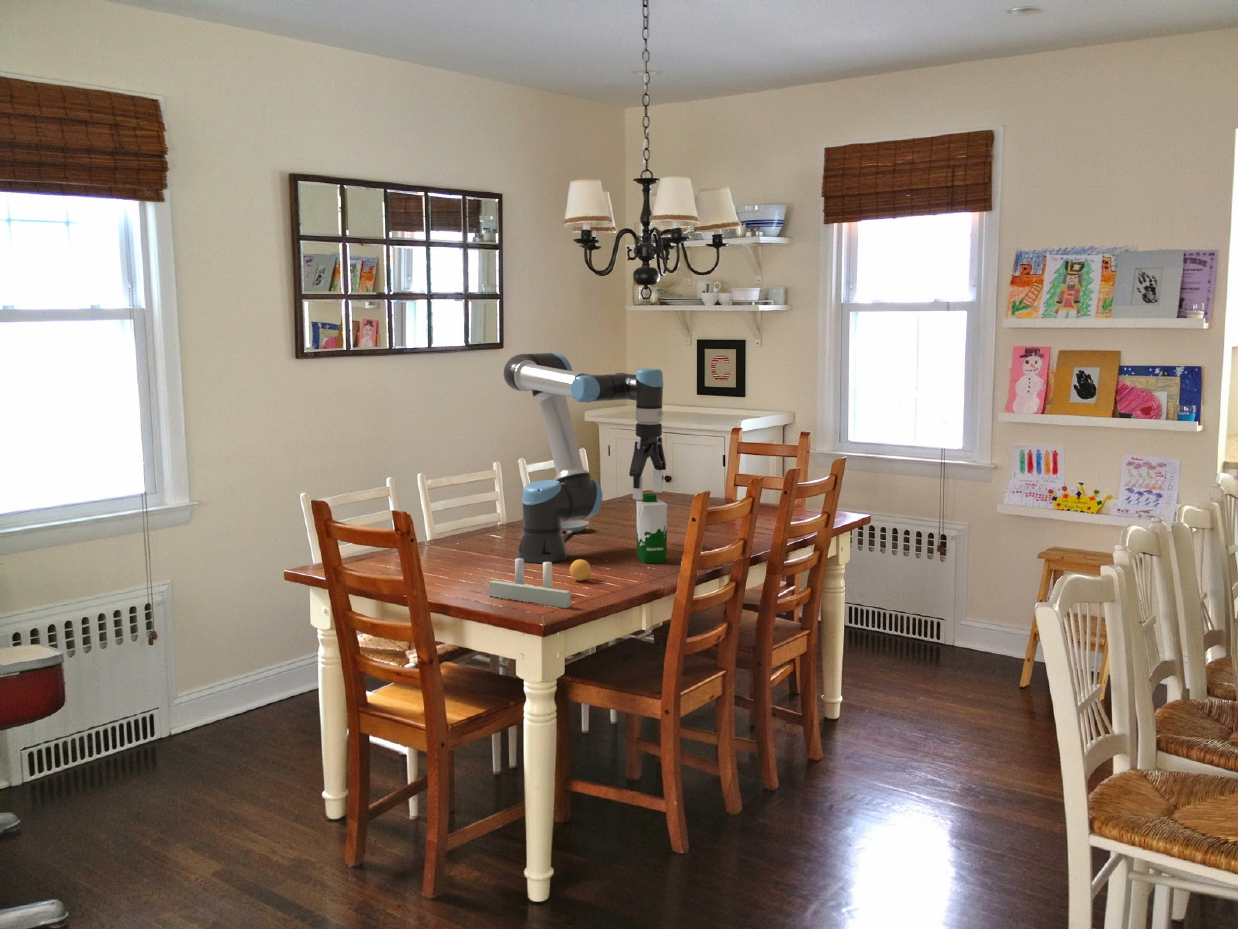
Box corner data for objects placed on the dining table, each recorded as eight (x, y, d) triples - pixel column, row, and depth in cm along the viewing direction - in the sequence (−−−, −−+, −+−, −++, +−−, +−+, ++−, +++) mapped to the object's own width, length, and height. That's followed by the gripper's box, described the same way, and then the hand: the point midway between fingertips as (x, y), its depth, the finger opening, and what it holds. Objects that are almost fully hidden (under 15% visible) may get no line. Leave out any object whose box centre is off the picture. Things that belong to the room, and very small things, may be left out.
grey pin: (513, 590, 298) (513, 559, 297) (518, 588, 300) (518, 557, 299) (520, 591, 297) (520, 560, 296) (525, 589, 299) (525, 558, 298)
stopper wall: (489, 596, 291) (488, 582, 291) (493, 595, 293) (493, 580, 293) (566, 608, 280) (566, 592, 279) (570, 606, 282) (570, 591, 281)
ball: (565, 581, 308) (565, 560, 307) (576, 577, 313) (576, 556, 312) (584, 584, 305) (584, 562, 304) (595, 579, 310) (594, 558, 309)
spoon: (592, 528, 383) (591, 519, 383) (571, 552, 351) (570, 543, 351) (562, 529, 385) (561, 521, 385) (538, 553, 353) (537, 544, 353)
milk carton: (660, 556, 339) (661, 492, 337) (670, 563, 331) (670, 497, 328) (633, 558, 337) (633, 494, 334) (642, 564, 328) (642, 498, 326)
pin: (541, 594, 294) (541, 563, 293) (546, 592, 296) (546, 561, 295) (549, 595, 293) (548, 564, 292) (553, 593, 295) (553, 562, 294)
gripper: (642, 427, 303) (641, 503, 306) (678, 419, 325) (676, 490, 328) (618, 426, 306) (616, 501, 309) (654, 417, 328) (653, 487, 331)
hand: (647, 495), depth 319 cm, fingers open, 13 cm apart
